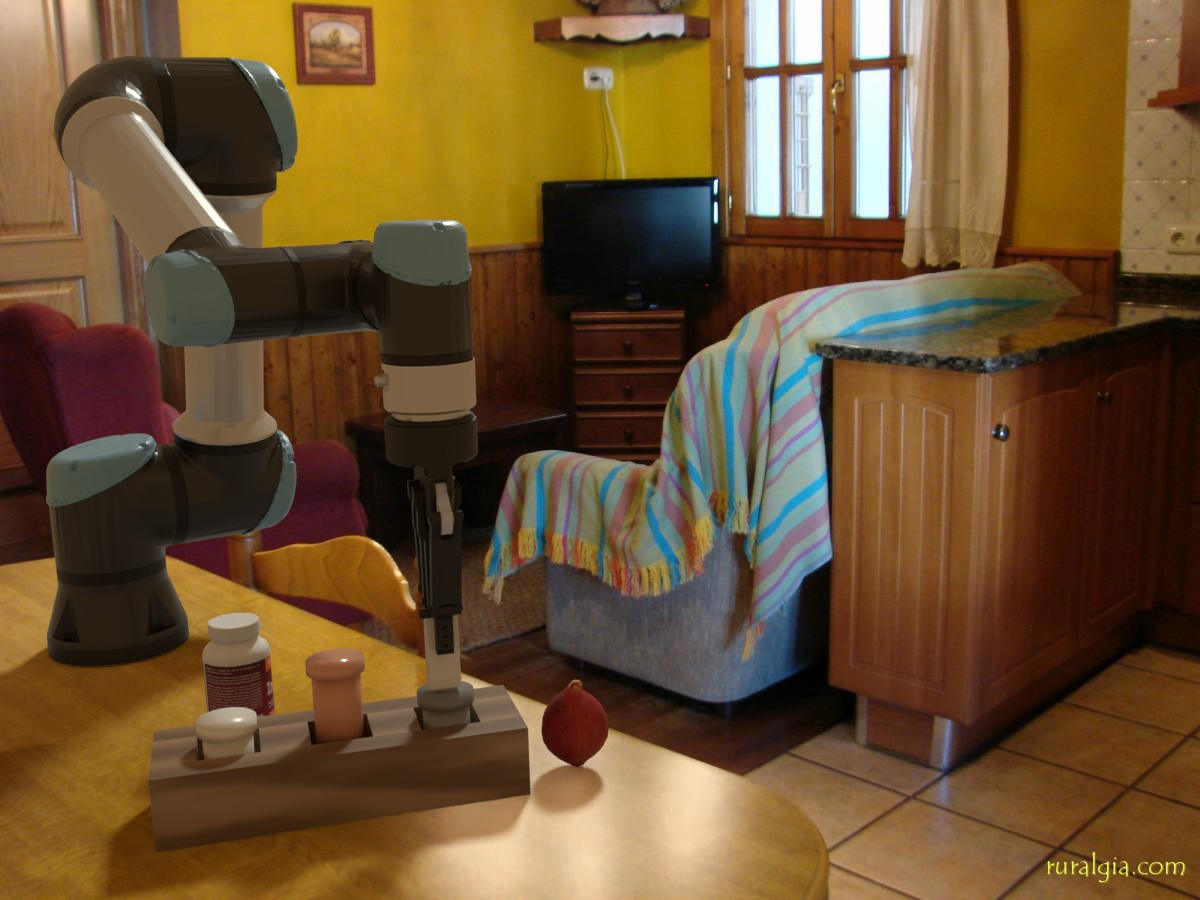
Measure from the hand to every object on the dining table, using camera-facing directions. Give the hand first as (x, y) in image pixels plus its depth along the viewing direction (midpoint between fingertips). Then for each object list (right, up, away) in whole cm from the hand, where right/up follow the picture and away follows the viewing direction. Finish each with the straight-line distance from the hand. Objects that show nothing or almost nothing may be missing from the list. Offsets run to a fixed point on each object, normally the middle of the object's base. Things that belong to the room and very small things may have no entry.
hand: (444, 684), depth 112 cm
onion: (+11, -8, +4) cm, 14 cm away
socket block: (-8, -9, -1) cm, 12 cm away
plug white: (-17, -10, -3) cm, 20 cm away
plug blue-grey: (0, -8, +2) cm, 8 cm away
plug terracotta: (-8, -5, -2) cm, 10 cm away
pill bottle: (-21, -7, +13) cm, 26 cm away
